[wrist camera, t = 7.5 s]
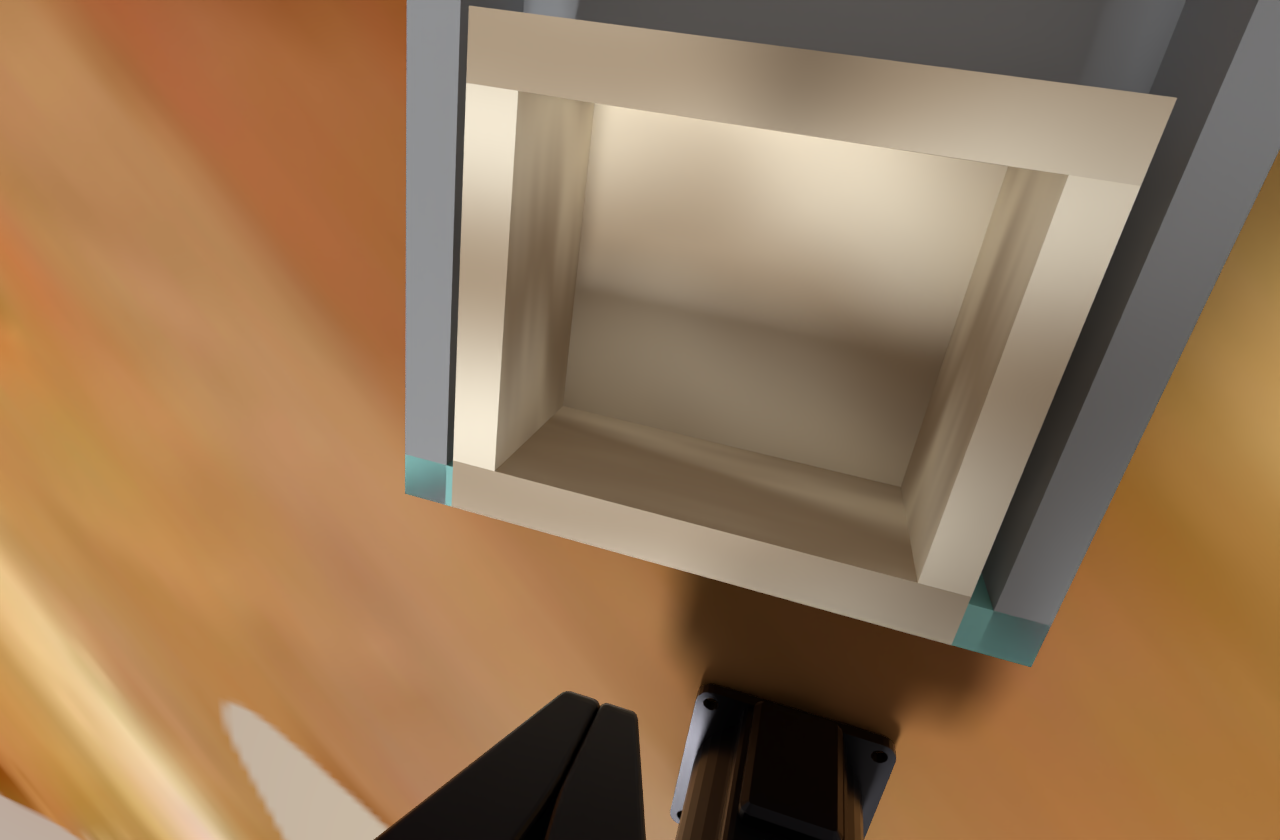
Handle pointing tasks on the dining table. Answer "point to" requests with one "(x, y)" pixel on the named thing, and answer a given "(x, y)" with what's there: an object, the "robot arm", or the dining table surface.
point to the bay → (967, 40)
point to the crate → (773, 301)
